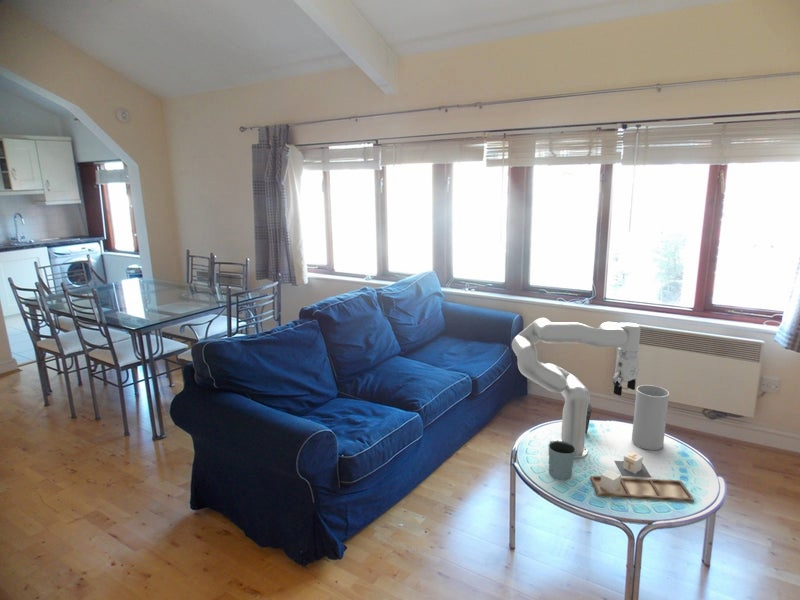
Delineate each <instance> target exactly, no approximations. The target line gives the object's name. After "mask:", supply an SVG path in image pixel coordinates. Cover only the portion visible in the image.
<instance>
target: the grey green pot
mask: <svg viewBox="0 0 800 600" xmlns="http://www.w3.org/2000/svg"><path fill="white" fill-rule="evenodd" d="M552 441H553V442H551V443H550V442H549V443H548V474H549V476H550V477H552V478H554V479H556V480H561V481H565V480H569V479H570V478H571V477H572V474H573V466H574V461H575V459H574V457H575V452H576V449H575V447H574V446H573V445H572V444H570V443H567V442H563V441H557V440H552Z"/></svg>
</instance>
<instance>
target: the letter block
mask: <svg viewBox="0 0 800 600" xmlns="http://www.w3.org/2000/svg"><path fill="white" fill-rule="evenodd" d="M643 458H644V456H642V455H639V454H636V453H634V452H632V451H630V452H628V453H627V454H626V455H624V456H623V461H624V463H623V469H626V470H628V471H630V472H632V473H634V474H635V473H637V472H638V471H640V470H641V469H642V463H643Z"/></svg>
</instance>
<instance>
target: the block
mask: <svg viewBox="0 0 800 600" xmlns="http://www.w3.org/2000/svg"><path fill="white" fill-rule="evenodd" d="M600 476H601V483H600V487H601V488H603V489H605V490H607V491H609V492H611V493H614V492H615V491H617V490H618V489H619V488H620V479H621V477H622V475H621V474H619V473H617V472H615V471H612V470H611V469H606V471H604V472H603V473H601V474H600Z"/></svg>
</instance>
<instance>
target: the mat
mask: <svg viewBox="0 0 800 600" xmlns="http://www.w3.org/2000/svg"><path fill="white" fill-rule="evenodd" d="M613 462H614V463H615V466H616V468H617V470H618V471H619V473H620V475H621V477H631V478H649V479H653V478H652V476H651V474H650V473H649V471H648V469H647V467H646V465H644V463H643V462H642V469H641V470H640V471H638V472H637V473H635V474H634V473H632V472H630V471H628V470H626V469H623V463H624V460H614V461H613Z"/></svg>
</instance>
